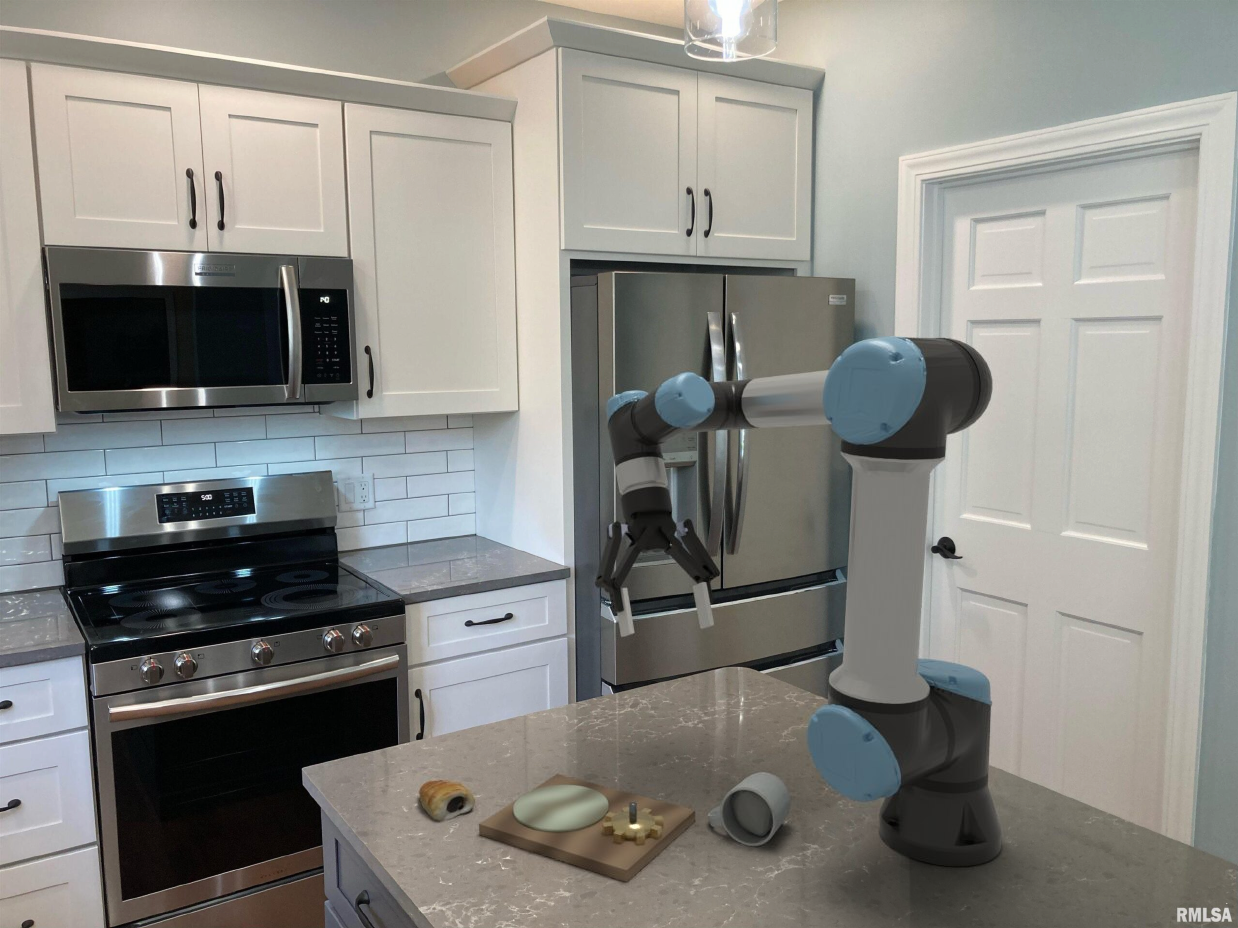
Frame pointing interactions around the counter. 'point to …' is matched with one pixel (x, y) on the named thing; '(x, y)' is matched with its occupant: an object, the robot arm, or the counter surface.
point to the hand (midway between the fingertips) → (668, 631)
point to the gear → (633, 825)
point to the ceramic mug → (753, 809)
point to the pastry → (445, 799)
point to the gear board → (583, 826)
